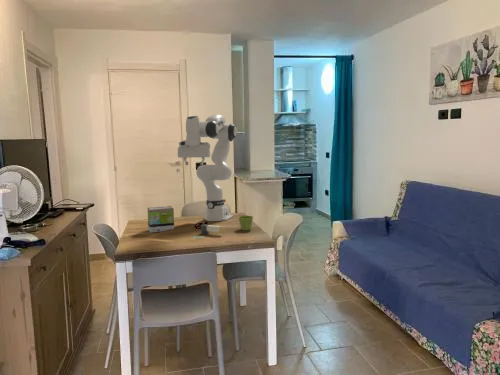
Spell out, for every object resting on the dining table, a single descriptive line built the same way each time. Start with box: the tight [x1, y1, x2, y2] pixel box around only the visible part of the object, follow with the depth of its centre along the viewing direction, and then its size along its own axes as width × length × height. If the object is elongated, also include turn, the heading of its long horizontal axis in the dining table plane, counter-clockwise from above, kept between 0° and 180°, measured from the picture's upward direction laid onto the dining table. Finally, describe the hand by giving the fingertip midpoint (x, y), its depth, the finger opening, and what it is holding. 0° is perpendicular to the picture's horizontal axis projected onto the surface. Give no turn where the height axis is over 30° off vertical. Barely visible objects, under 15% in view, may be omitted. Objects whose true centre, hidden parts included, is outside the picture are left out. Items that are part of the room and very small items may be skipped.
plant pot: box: [237, 215, 254, 231], centre depth 247 cm, size 9×9×9 cm
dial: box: [191, 233, 223, 240], centre depth 238 cm, size 25×25×1 cm
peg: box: [200, 224, 224, 235], centre depth 235 cm, size 15×5×5 cm, turn 62°
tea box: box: [147, 205, 175, 233], centre depth 253 cm, size 15×10×15 cm, turn 112°
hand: (194, 164), depth 248 cm, fingers open, 8 cm apart
